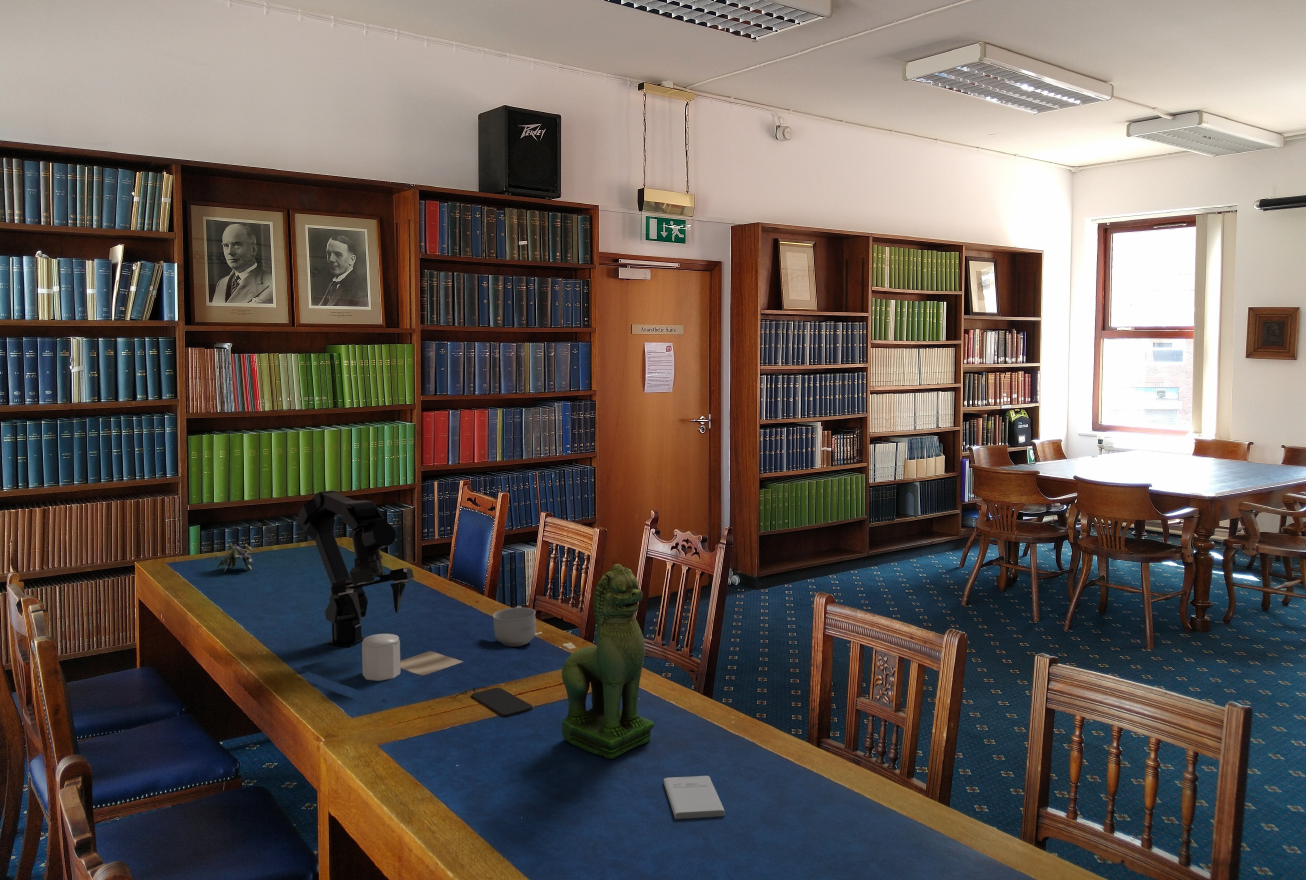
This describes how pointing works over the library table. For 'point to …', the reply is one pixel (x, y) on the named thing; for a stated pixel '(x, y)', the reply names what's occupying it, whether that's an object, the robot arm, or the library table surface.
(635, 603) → the lion statue
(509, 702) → the phone
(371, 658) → the white faceted jar
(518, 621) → the teacup
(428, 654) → the cork pad
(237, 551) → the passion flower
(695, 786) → the external hard drive
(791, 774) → the library table surface
